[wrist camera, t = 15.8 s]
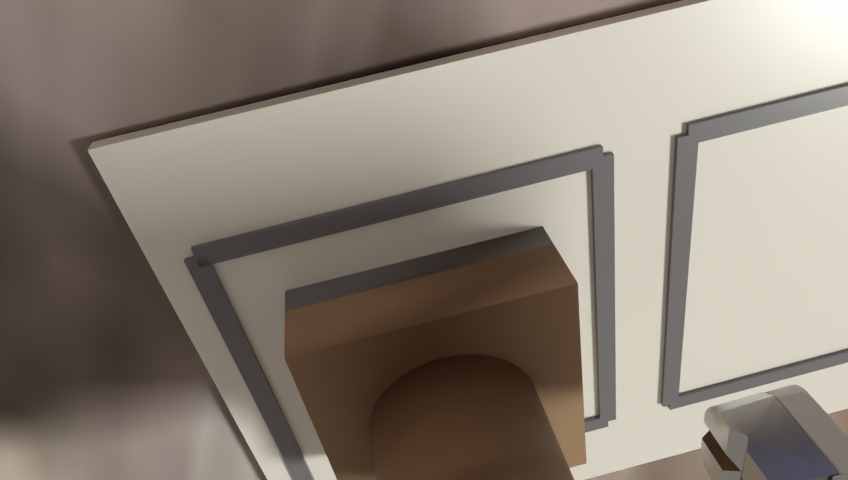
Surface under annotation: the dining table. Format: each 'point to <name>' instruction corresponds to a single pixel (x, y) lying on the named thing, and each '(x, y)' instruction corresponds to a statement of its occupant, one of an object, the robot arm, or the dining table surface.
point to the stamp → (445, 364)
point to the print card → (535, 211)
